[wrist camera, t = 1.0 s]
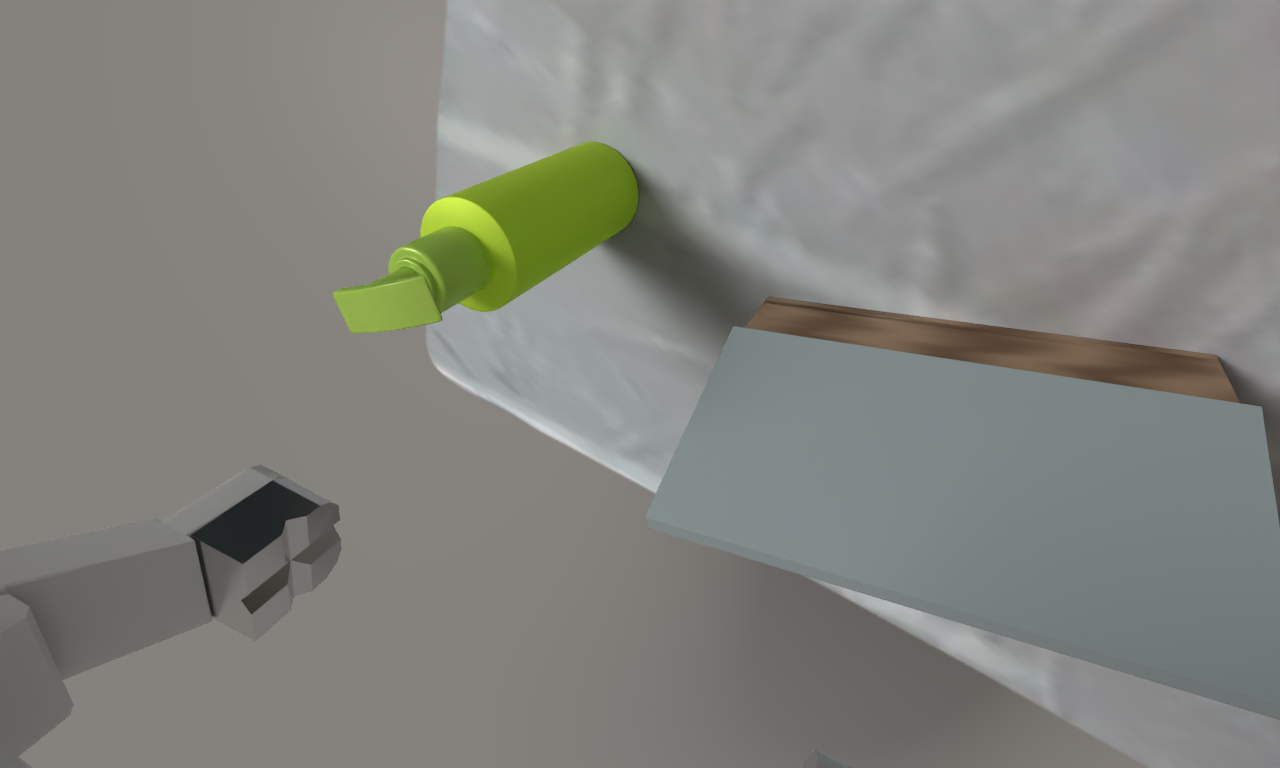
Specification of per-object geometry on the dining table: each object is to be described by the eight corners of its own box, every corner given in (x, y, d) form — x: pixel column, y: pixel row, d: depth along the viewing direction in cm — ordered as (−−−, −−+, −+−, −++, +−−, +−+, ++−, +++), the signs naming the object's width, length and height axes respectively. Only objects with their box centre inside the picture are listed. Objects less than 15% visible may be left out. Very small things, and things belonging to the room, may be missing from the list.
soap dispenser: (663, 224, 41) (453, 372, 26) (575, 240, 45) (346, 377, 30) (638, 128, 39) (391, 228, 24) (547, 152, 42) (283, 253, 27)
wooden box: (1216, 354, 31) (1249, 420, 27) (1134, 540, 37) (1149, 618, 33) (768, 297, 40) (735, 338, 36) (761, 453, 46) (733, 505, 42)
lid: (1249, 421, 27) (1262, 406, 26) (1289, 722, 20) (1307, 714, 19) (735, 338, 36) (733, 326, 35) (649, 528, 29) (644, 517, 28)
